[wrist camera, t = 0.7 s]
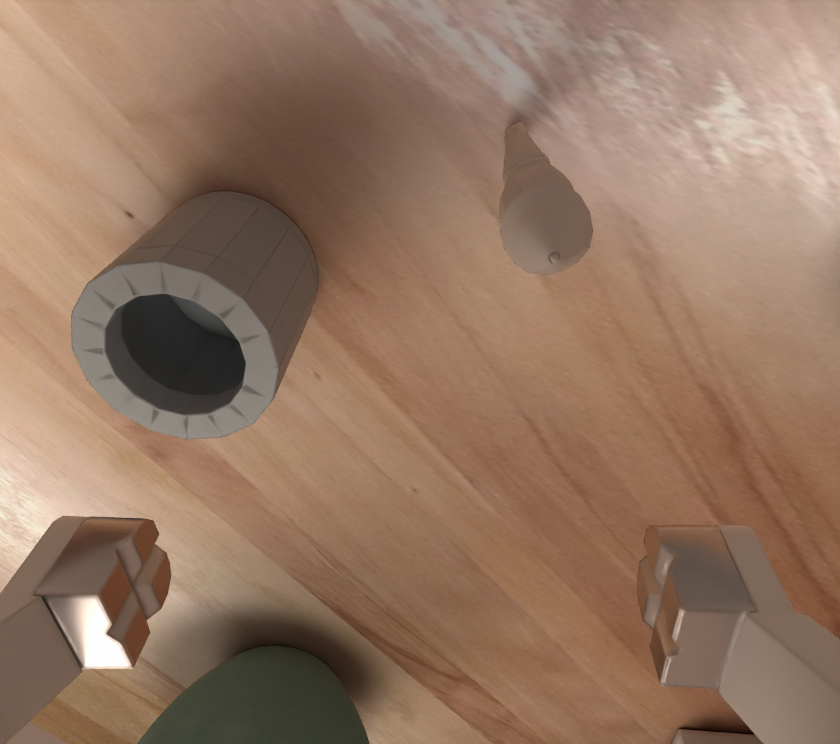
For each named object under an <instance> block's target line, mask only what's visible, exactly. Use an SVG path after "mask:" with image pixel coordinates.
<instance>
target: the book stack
mask: <svg viewBox="0 0 840 744" xmlns="http://www.w3.org/2000/svg"><path fill="white" fill-rule="evenodd" d="M672 744H763V743H762V742H761V741H760V739H759V738H758V737H757V736H756V735H749V734H736V733H723V732H710V731H697V730H684V729H680V730H678V731H677V733H676V736H675V738H674V740H673V743H672Z"/></svg>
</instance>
